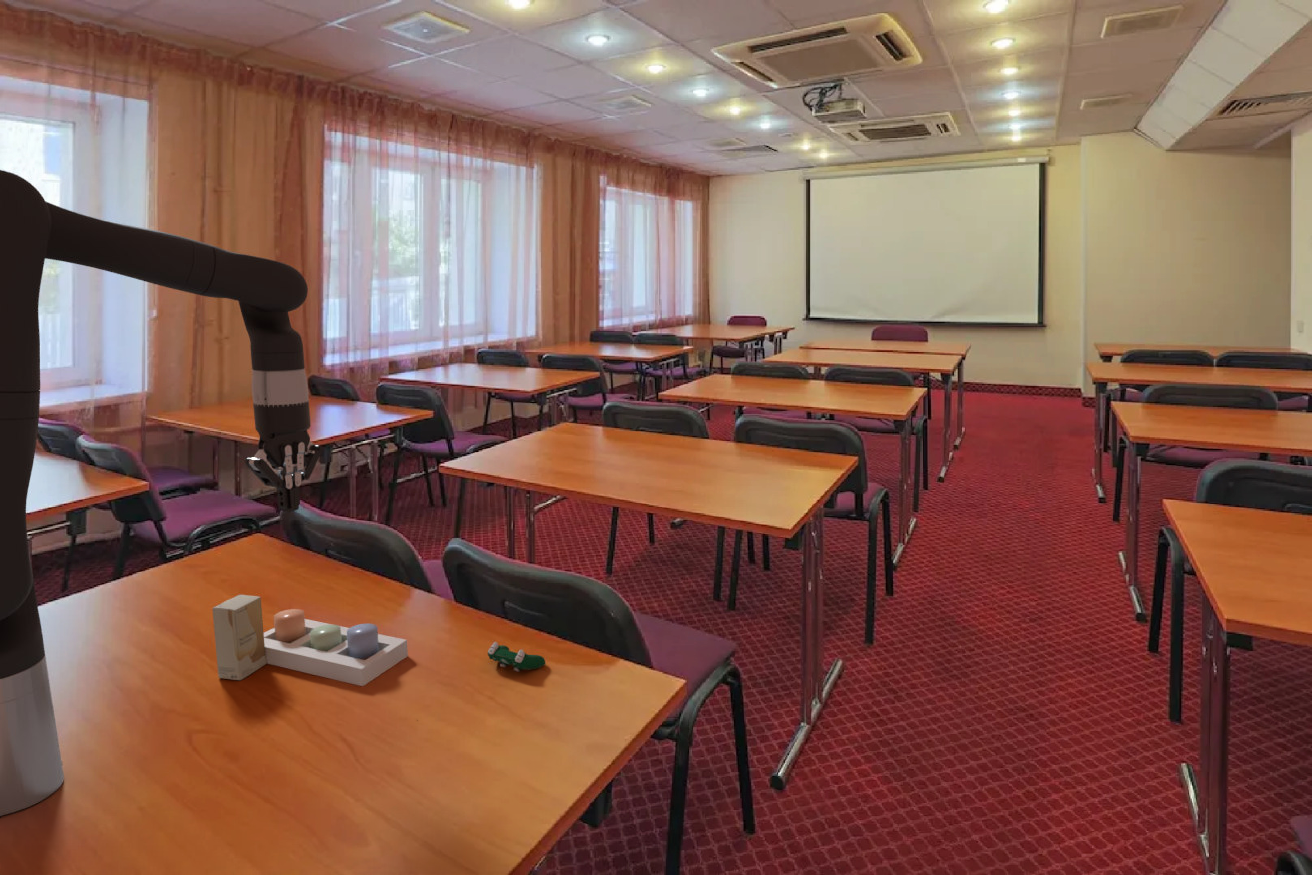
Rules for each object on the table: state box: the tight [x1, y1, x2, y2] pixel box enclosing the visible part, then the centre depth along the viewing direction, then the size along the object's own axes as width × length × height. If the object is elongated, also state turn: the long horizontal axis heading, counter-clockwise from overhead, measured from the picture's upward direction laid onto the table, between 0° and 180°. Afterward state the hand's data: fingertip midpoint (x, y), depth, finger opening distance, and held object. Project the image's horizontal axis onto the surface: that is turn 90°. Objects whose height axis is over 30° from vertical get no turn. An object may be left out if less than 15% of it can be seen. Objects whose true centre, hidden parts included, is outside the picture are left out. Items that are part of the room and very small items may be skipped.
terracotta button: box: [273, 608, 306, 643], centre depth 131 cm, size 5×5×4 cm
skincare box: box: [212, 594, 267, 681], centre depth 123 cm, size 6×4×12 cm
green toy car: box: [487, 641, 546, 673], centre depth 127 cm, size 9×4×6 cm
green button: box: [310, 623, 342, 652], centre depth 129 cm, size 5×5×4 cm
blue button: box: [347, 623, 379, 660], centre depth 126 cm, size 5×5×4 cm
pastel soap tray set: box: [263, 618, 409, 687], centre depth 129 cm, size 11×25×3 cm, turn 69°
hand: (290, 510), depth 115 cm, fingers closed
